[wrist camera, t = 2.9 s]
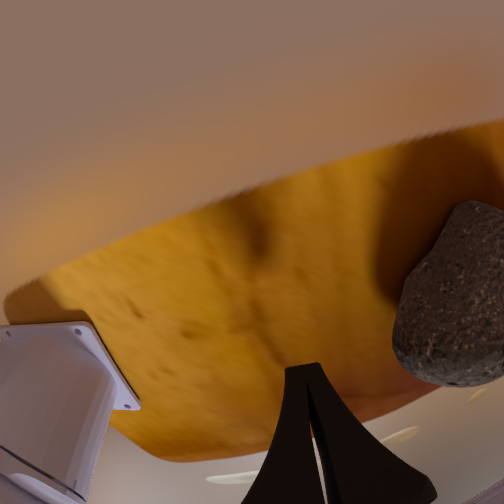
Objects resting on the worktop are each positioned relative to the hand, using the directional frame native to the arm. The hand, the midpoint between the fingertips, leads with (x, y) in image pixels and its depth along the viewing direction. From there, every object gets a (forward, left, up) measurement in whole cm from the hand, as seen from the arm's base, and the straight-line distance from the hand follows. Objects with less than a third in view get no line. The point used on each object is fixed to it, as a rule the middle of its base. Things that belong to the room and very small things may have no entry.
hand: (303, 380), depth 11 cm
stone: (+10, 0, -4) cm, 11 cm away
